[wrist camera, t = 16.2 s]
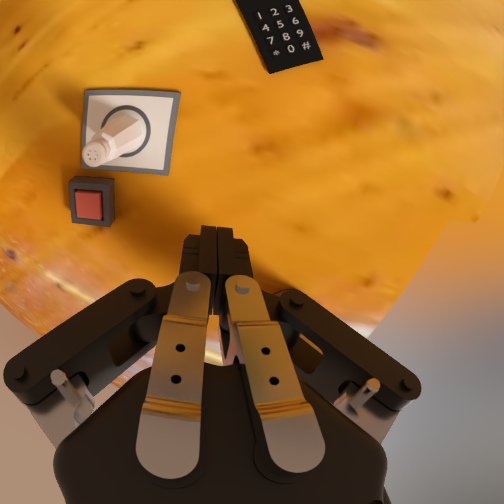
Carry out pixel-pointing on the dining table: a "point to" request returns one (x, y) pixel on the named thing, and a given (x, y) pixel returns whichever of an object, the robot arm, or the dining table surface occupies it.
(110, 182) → the button housing
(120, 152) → the salt shaker
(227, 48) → the dining table surface
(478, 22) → the dining table surface
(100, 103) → the board
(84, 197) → the button
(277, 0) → the remote control
